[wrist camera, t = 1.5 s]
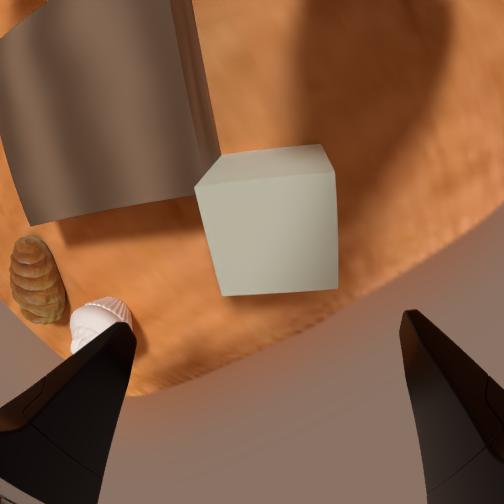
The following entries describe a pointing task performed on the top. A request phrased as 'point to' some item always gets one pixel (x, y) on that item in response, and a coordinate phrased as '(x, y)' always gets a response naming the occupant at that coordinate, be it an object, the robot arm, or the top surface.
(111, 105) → the walnut base
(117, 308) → the muffin
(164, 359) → the top surface
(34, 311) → the pastry
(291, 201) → the sage cube
